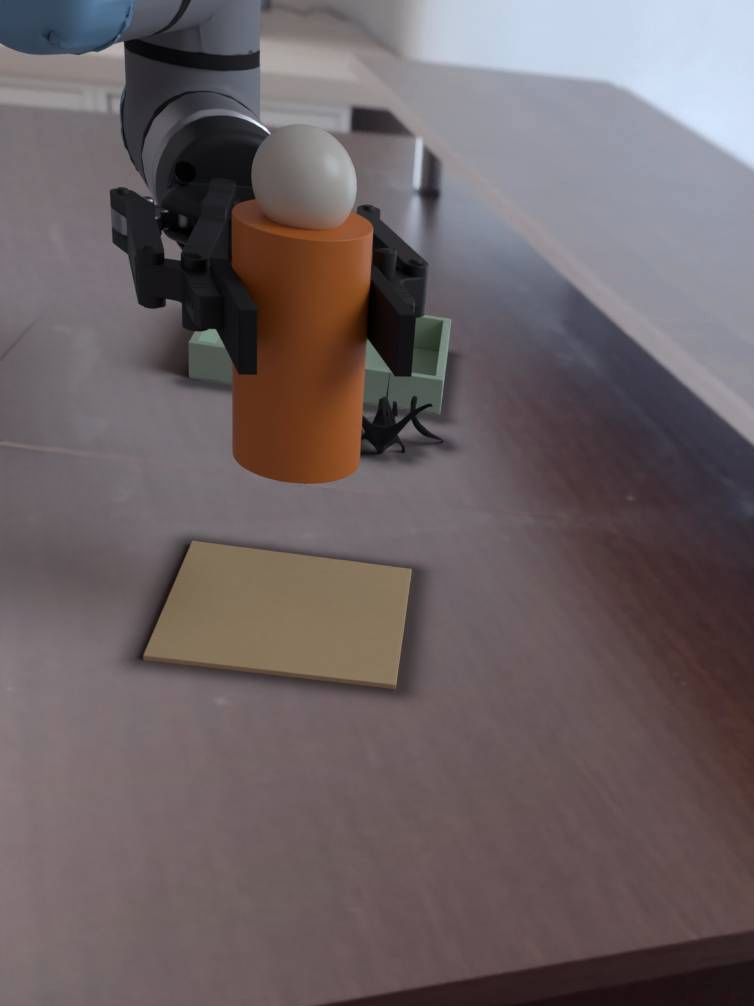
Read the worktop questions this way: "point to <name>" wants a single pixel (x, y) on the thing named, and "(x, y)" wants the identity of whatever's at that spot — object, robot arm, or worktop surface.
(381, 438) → the creature
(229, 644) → the mat
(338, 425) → the skittle
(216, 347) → the tray
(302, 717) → the worktop surface
